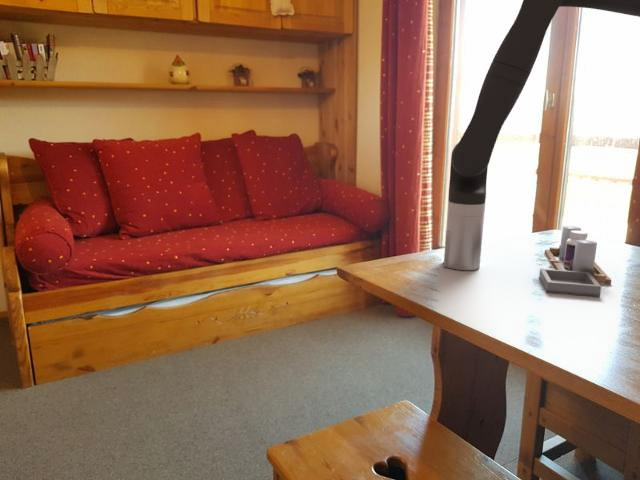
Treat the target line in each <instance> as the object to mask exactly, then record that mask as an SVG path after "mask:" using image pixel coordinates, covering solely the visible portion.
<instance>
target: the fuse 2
mask: <svg viewBox="0 0 640 480" xmlns="http://www.w3.org/2000/svg"><path fill="white" fill-rule="evenodd" d="M597 244H598V243H597V242H596V241H593V240H589V239H586V240H577V241H576V246H575V253H574V261H573V268H572V271H578V268H581V269H593V268H594V262H595V261H596V255H597V248H598V247H597V246H598V245H597ZM595 263H596V262H595Z"/></svg>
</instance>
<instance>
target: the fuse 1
mask: <svg viewBox="0 0 640 480" xmlns="http://www.w3.org/2000/svg"><path fill="white" fill-rule="evenodd" d="M574 230H577V231H582V227H579V226H573V225H563V226H562V230H561V238H560V245H559V246H560V253H559V256H558V259H559V260H561V261H563V257H564V251H565V248H566V241H567V240H568V239H570V238H571V237H570V233H571V231H574Z"/></svg>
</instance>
